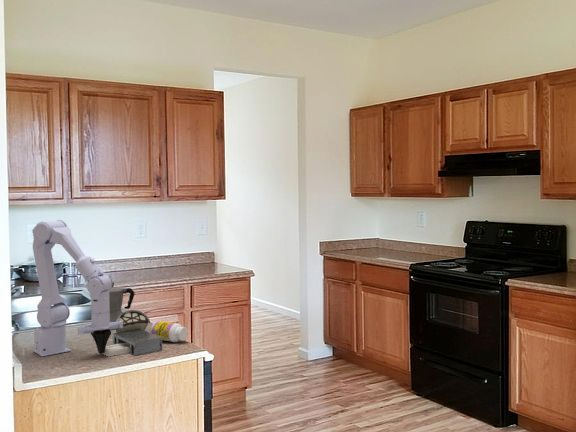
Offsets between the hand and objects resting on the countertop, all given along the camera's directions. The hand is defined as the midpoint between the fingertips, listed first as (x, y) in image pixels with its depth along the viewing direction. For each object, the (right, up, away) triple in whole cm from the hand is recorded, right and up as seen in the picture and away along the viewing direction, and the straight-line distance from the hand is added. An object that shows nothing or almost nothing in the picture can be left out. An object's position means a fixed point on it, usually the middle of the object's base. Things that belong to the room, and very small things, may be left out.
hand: (101, 352), depth 188 cm
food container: (+2, +2, +21) cm, 22 cm away
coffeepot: (-7, +1, +38) cm, 38 cm away
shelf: (+10, 0, +9) cm, 13 cm away
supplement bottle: (+13, +3, +20) cm, 24 cm away
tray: (+5, -1, +5) cm, 7 cm away
